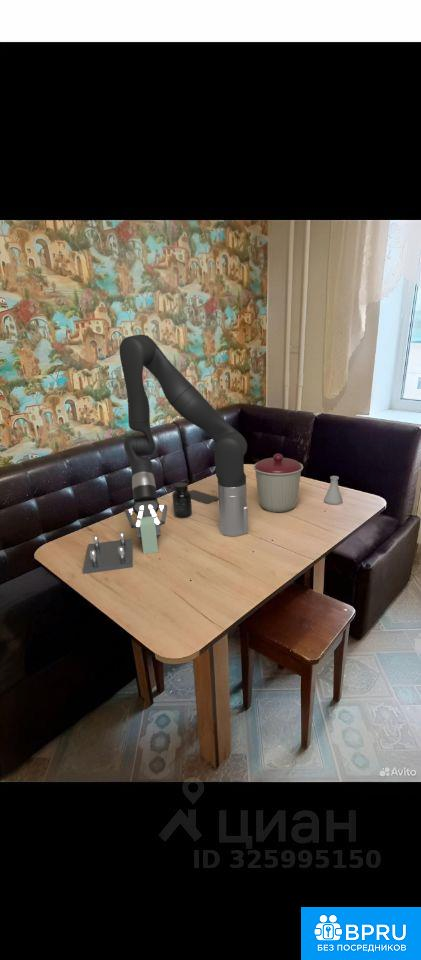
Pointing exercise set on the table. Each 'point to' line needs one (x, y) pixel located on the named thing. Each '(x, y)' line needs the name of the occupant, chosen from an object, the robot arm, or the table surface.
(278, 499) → the canister
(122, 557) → the plate
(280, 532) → the table surface
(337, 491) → the flask
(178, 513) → the supplement bottle
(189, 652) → the table surface
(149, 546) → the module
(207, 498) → the smartphone
